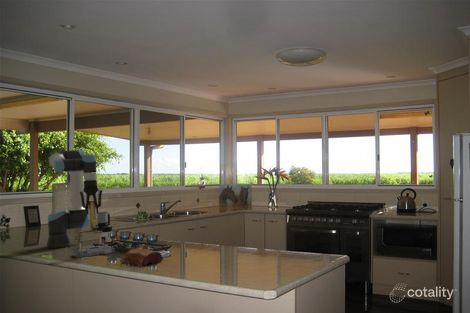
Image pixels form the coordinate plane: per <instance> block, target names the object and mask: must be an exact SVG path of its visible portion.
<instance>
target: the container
mask: <svg viewBox="0 0 470 313" xmlns="http://www.w3.org/2000/svg"><path fill="white" fill-rule="evenodd" d="M110 232H112V233H113V226H112V225H108V226H104V227H102V230H101V233H102V234H100V235H98V236H99V245H100V244H102V243H106V242H111V241H112V239H111V238H110V236H108V233H110ZM116 238H117V237H116ZM116 238H115V239H114V240H116ZM116 241H117V240H116Z"/></svg>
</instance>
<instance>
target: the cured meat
mask: <svg viewBox="0 0 470 313" xmlns="http://www.w3.org/2000/svg"><path fill="white" fill-rule="evenodd" d="M163 260H164V257H163V256H162V253H161V252H158V251H154V250H152V249H148V248H146V249H145V248H132V249H130V250H128V251H127V252H126V253H125V254H124V256H123V259H122V263H125V264H128V265H132V266H136V267H141V268H142V267H145V266H146V265H148V264H152V265H155V264H158V263H161V262H162V261H163Z"/></svg>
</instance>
